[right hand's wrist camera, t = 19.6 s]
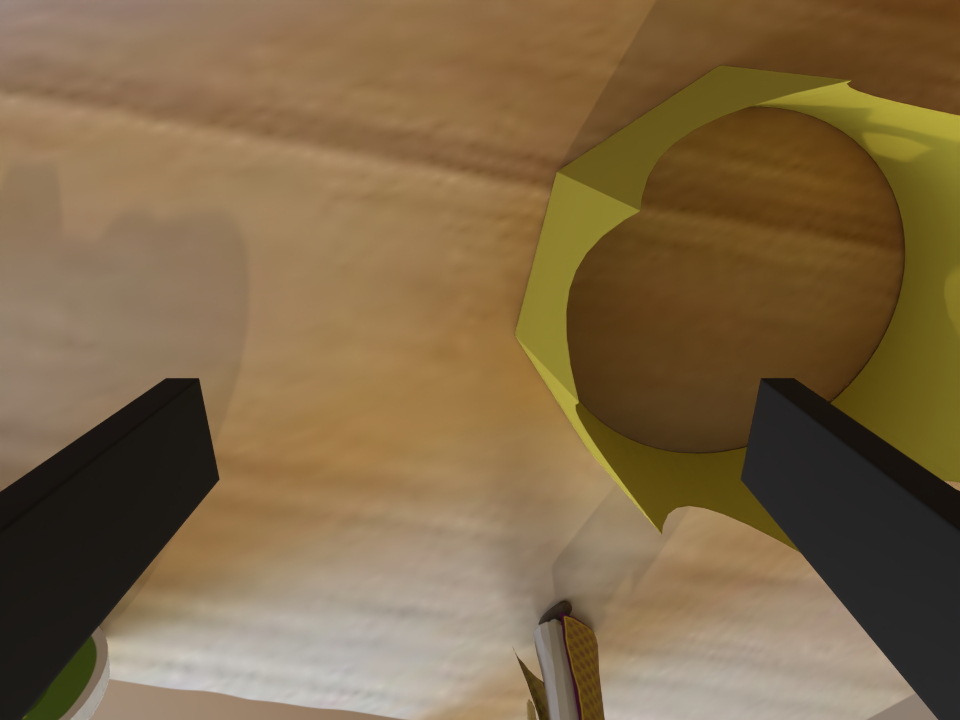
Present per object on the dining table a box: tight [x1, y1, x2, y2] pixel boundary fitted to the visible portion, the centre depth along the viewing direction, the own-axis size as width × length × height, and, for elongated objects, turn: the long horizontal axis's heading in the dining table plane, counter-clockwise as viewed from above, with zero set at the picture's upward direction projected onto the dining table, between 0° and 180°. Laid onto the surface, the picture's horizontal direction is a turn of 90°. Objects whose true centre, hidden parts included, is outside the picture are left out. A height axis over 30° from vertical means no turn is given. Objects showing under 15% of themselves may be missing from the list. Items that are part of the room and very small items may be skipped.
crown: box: [515, 65, 960, 553], centre depth 38 cm, size 36×36×15 cm
